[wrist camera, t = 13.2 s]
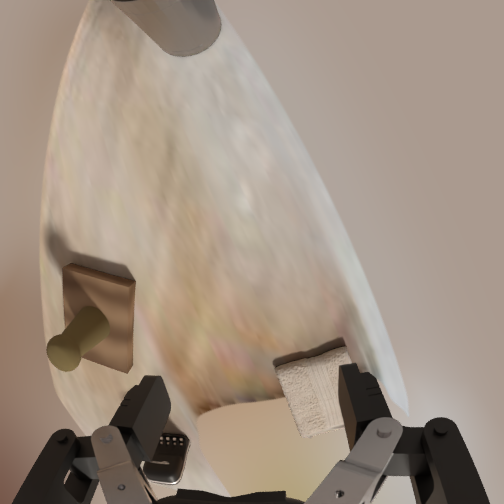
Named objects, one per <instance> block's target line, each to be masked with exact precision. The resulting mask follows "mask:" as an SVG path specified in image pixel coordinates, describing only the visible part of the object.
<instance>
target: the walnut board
mask: <svg viewBox="0 0 504 504" xmlns="http://www.w3.org/2000/svg"><path fill="white" fill-rule="evenodd" d="M135 284H136V281H133V280H129V279H126V278H122V277H118V276H114V275H111V274H107V273H104V272H100V271H96V270H93V269H89V268H86V267H82V266H79V265H76V264H72V263H70V264H69V265H67V266H65V267H63V298H64V314H65V326H66V328H67V326H68V325H69V324H70V322H71V321H72V320H73V319H74V317H75V316H76V315H77V314H78V312H79V311H80V310H81V309H82V308H83V307H85V306H93V307H95V308H97V309H99V310H100V311H101V312H102V313H103V314H104V315H105V316H106V318H107V320H108V322H109V325H110V332H109V335H108V336H107V337H106V338H105V339H104V340H102V341H101V342H100V343H98V344H97V345H96V346H95V347H93V348H92V349H91V350H89V351H88V352H87V353H85V354H84V355H83V356H81V357H82V358H85V359H87V360H90V361H93V362H95V363H98V364H101V365H104V366H106V367H109V368H112V369H115V370H118V371H121V372H124V373H127V374H128V372H129V371H130V369H131V367H132V366H133V323H134V301H135Z"/></svg>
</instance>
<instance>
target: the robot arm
mask: <svg viewBox="0 0 504 504" xmlns="http://www.w3.org/2000/svg"><path fill="white" fill-rule="evenodd" d="M110 1H111V2H113V3H114V4H115V5H116V6H117V7H118V8H119V9H120V10H122V11H123V12H124V13H125V14H126V15H127V16H128V17H129V18H130V19H131V20H132V21H134V22H135V23H136V24H137V25H138V26H139V27H140V28H141V29H142V30H143V31H144V32H145V33H146V34H147V35H148V36H149V37H150V38H151V39H152V40H153V41H154V42H155V43H156V44H157V45H158V46H159V47H160V48H162V49H163V50H164V51H165V52H166V53H169V54H171V55H174V56H182V57H185V56H192V55H195V54H198V53H200V52H202V51H204V50H206V49H207V48H208V47H210V46H211V45H212V44H213V43H214V42H215V40H216V39H217V37H218V36H219V33H220V30H221V19H220V16H219V13H218V10H217V8H216V5H215V2H214V0H110ZM338 399H339V405H340V409H341V413H342V417H343V422H344V426H345V430H346V434H347V438H348V444H349V448H350V453H349V455H348V456H347V457H346V459H345V460H344V461H343V460H340V461H339V462H338V463H337V464H336V465H335V466H334V467H333V469H332V470H331V471H330V473H329V474H328V475H327V476H326V478H325V479H324V480H323V481H322V483H321V484H320V485H319V486H318V488H317V489H316V490H315V491H314V492H313V494H312V495H311V496H310V497H309V498H308V499H307V501H306V502H303V501H300V500H297V499H292V498H287V497H286V491H274V492H256V493H251V494H247V495H241V496H236V497H224V496H220V495H217V494H213V493H209V492H205V491H199V490H187V489H178V490H177V494H176V495H175V496H169V497H165V498H162V499H159V500H158V499H157V497H156V495H155V493H154V492H153V490H152V488H151V486H150V484H149V482H148V480H147V478H146V476H145V474H144V472H143V470H142V468H141V467H140V464H141V462H142V461H147V462H151V461H152V458H153V456H154V453H155V450H156V448H157V445H158V443H159V440H160V437H161V435H162V432H163V429H164V427H165V424H166V422H167V419H168V416H169V414H170V411H171V402H170V398H169V395H168V393H167V390H166V387H165V384H164V382H163V379H162V377H161V376H150V375H145V376H144V377H143V379H142V380H141V382H140V384H139V385H135V386H134V387H133V388H131V389H130V390H129V391H128V392H127V394H126V396H125V397H124V400H123V401H122V403H121V404H120V405H121V406H119V408H118V409H117V411H116V413H115V415H114V416H113V418H112V420H111V422H110V424H109V425H108V426H102V427H100V428H98V429H97V430H95V431H94V432H93V434H92V436H85V437H77V436H76V435H75V433H74V432H73V431H72V430H70V429H61V430H58V431H56V432H55V433H54V434H52V436H51V437H50V439H49V440H48V442H47V444H46V445H45V447H44V449H43V450H42V452H41V454H40V455H39V457H38V459H37V460H36V462H35V464H34V465H33V467H32V469H31V470H30V472H29V474H28V476H27V477H26V479H25V481H24V483H23V485H22V486H21V488H20V490H19V492H18V493H17V495H16V497H15V499H14V501H13V503H12V504H90V503H91V500H92V498H93V495H94V493H95V490H96V488H97V485H98V482H99V481H100V484H101V487H102V490H103V493H104V496H105V499H106V501H107V504H371V503H372V502H373V500H374V499H375V497H376V496H377V494H378V492H379V491H380V489H381V487H382V486H383V484H384V482H385V481H386V479H387V477H388V476H410V479H411V483H412V487H413V491H414V495H415V499H416V504H490V502H489V500H488V497H487V494H486V492H485V489H484V487H483V484H482V482H481V479H480V477H479V474H478V472H477V469H476V467H475V465H474V462H473V460H472V458H471V456H470V453H469V451H468V449H467V447H466V444H465V442H464V440H463V438H462V436H461V434H460V432H459V429H458V427H457V425H456V424H455V423H454V422H453V421H452V420H450V419H448V418H442V417H441V418H434V419H432V420H430V421H428V422H427V423H426V425H425V427H405V426H402V425H401V424H400V422H398V421H397V420H395V419H393V418H392V416H391V413H390V411H389V408H388V406H387V403H386V401H385V399H384V396H383V394H382V391H381V389H380V388H379V384H378V382H377V379H376V378H375V377H374V376H373V375H372V374H370V373H369V372H365V373H360V372H359V369H358V367H357V364H356V363H351V364H344V365H339V376H338ZM68 470H70V471H71V472H70V474H69V476H68V478H67V480H66V482H65V484H64V478H65V476H66V474H67V472H68Z"/></svg>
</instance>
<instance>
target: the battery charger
mask: <svg viewBox="0 0 504 504" xmlns="http://www.w3.org/2000/svg"><path fill="white" fill-rule="evenodd" d="M189 447H190V441H189V440H188V438H187V437H186V436H184V435H176V434H162V435H161V437H160V440H159V443H158V445H157V448H156V450H155V453H154V456H153V458H152V461H151V462H147V461H145V463H144V466H143V472H144V474H145V475H146V478H147V479H148V480H149V481H151V482H154V483H160V484H168V485H175V484H177V483H179V482H180V480H181V478H182V475H183V471H184V468H185V463H186V459H187V454H188V451H189Z"/></svg>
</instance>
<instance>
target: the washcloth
mask: <svg viewBox="0 0 504 504" xmlns="http://www.w3.org/2000/svg"><path fill="white" fill-rule="evenodd" d="M351 363H352V362H351V360H350V357H349V354H348V350H347V347H346V346H345V347H340V348H336V349H333V350H330V351H328V352H325V353H323V354H322V355H319V356H315V357H311V358H308V359H306V358H303V359H300V360H297V361H293V362H290V363H286V364H283V365H280V366H277V367H276V368H275V371H276V373H277V377H278V379H279V382H280V384H281V386H282V390H283V393H284V395H285V397H286V399H287V402H288V406H289V407H290V410H291V412H292V415H293V417H294V420H295V423H296V425H297V428H298V431H299V433H300V436H301V437H304V438H305V437H308V438H312V437H313V436H315V435H319V434H322V433H326V432H330V431H335V430H339V429H343V428H345V426H344V422H343V417H342V413H341V409H340V405H339V399H338V376H339V365H344V364H351Z"/></svg>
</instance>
